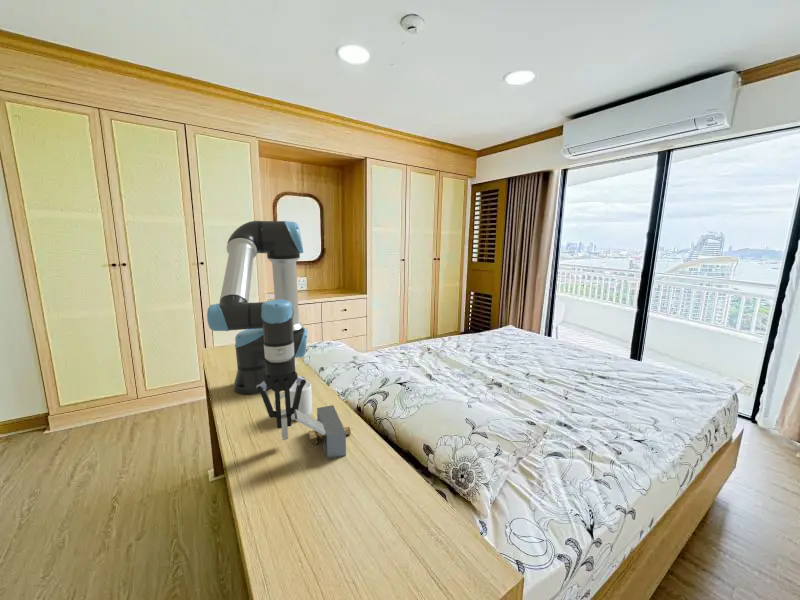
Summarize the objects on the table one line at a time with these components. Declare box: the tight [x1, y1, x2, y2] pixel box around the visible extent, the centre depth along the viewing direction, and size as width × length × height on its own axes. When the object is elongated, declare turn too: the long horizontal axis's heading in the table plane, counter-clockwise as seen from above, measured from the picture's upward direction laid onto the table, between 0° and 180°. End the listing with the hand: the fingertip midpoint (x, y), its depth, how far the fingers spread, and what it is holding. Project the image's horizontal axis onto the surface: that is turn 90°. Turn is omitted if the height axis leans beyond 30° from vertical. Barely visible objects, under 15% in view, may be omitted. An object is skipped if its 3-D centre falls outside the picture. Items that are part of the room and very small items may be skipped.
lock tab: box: [294, 409, 326, 435], centre depth 88 cm, size 5×9×1 cm
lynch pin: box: [308, 426, 351, 447], centre depth 98 cm, size 12×4×2 cm, turn 112°
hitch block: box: [316, 404, 347, 461], centre depth 96 cm, size 16×5×7 cm, turn 23°
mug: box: [273, 380, 313, 421], centre depth 110 cm, size 12×8×10 cm
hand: (285, 436), depth 94 cm, fingers closed
